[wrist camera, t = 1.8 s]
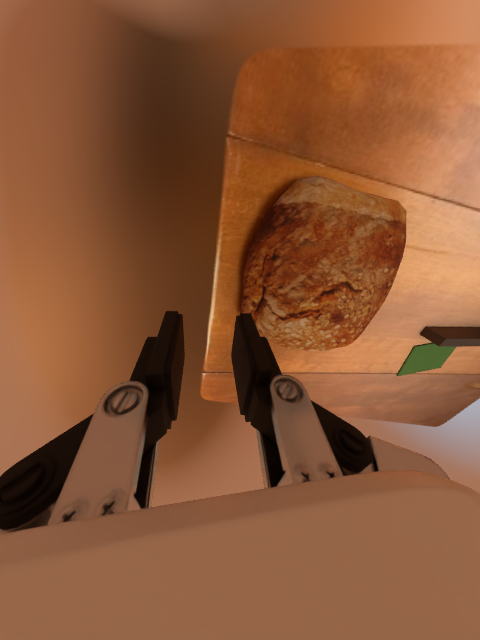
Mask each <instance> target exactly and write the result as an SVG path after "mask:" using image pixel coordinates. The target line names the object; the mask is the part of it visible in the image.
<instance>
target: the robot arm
mask: <svg viewBox="0 0 480 640" xmlns="http://www.w3.org/2000/svg"><path fill="white" fill-rule="evenodd" d="M184 356H185V354H184V335H183V316H182V314H178V312H177V311H166V313H165V316H164V319H163V322H162V325H161V328H160V331H159V334H158V337H148V338H147V339H146V341H145V344H144V346H143V349H142V351H141V354H140V356H139V358H138V361H137V363H136V366H135V368H134V371H133V373H132V375H131V378H130V381H127V382H122V383H120V384H118V385H115V386H114V387H112V388H111V389H109V390H108V391H107V392H106V393H105V394H104V395H103V396H102V398H101V399H100V401H99V403H98V405H97V408H96V410H95V412H94V414H92V415H91V416H89V417H88V418H86V419H85V420H83V421H81V422H80V423H78V424H77V425H75V426H73V427H72V428H70V429H69V430H67V431H66V432H64V433H63V434H61V435H59V436H58V437H56V438H55V439H53V440H52V441H50V442H49V443H47V444H45V445H44V446H42V447H41V448H39V449H38V450H36V451H35V452H33V453H31V454H30V455H28V456H27V457H25V458H24V459H22V460H21V461H19V462H17V463H16V464H15V465H14V466H12V467H11V468H9V469H8V470H7V471H6V472H4V473H3V474H2V475H1V477H0V640H480V493H478V492H477V491H475V490H472V489H471V488H469V487H467V486H464V485H462V484H460V483H457V482H455V481H452V480H450V479H449V477H448V476H447V474H446V473H445V472H444V471H443V470H442V469H441V467H439V465H438V464H436V463H435V462H434V461H432V460H431V459H429V458H427V457H426V456H423V455H422V454H419V453H416V452H413V451H411V450H408V449H405V448H402V447H399V446H396V445H394V444H391V443H388V442H385V441H383V440H380V439H377V438H374V437H371V436H368V437H367V438H366V437H365V436H364V435H363V434H362V433H361V432H360V431H359V430H358V429H356V428H355V427H354V426H352V425H351V424H349V423H347V422H346V421H344V420H342V419H341V418H339V417H337V416H336V415H334V414H333V413H331V412H329V411H328V410H326V409H324V408H323V407H321V406H319V405H318V404H316V403H315V402H313V401H311V400H310V398H309V396H308V393H307V391H306V389H305V387H304V386H303V384H302V383H301V382H300V381H299V380H297V379H296V378H294V377H292V376H289V375H282V373H281V371H280V369H279V366H278V364H277V362H276V359H275V357H274V355H273V352H272V350H271V347H270V345H269V343H268V340H267V338H266V337H260V335H259V332H258V330H257V327H256V325H255V322H254V319H253V317H252V314H251V313H240V316H236V322H235V330H234V338H233V345H232V354H231V357H232V364H233V371H234V377H235V383H236V389H237V396H238V402H239V407H240V414H241V415H245V420H246V422H251V425H252V426H253V427H254V428H255V429H256V432H257V439H258V447H259V454H260V461H261V467H262V474H263V482H264V489H260V490H254V491H248V492H242V493H236V494H230V495H223V496H218V497H212V498H206V499H200V500H193V501H187V502H181V503H175V504H169V505H163V506H157V507H152V499H153V490H154V480H155V472H156V463H157V455H158V445H159V439H161V438H162V437H163V436H164V435H165V434H166V432H167V429H171V422H172V421H174V420H176V419H177V413H178V405H179V397H180V390H181V382H182V374H183V366H184Z"/></svg>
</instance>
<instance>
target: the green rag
mask: <svg viewBox="0 0 480 640" xmlns="http://www.w3.org/2000/svg"><path fill="white" fill-rule="evenodd" d="M456 347H457V346H450V347H439V346H437V345H436V344H434V343H429V344H423V345H418V346H414V347H413V349H412V350H411V352H410V354H409V355H408V357H407V359H406V360H405V362H404V364H403V365H402V367H401V369H400V370H399V372H398V374H397V376H401V375H406V374H411V373H416V372H421V371H426V370H431V369H436V368H440V367H441V366H442V365H443V364H444V362H445V361H446V360H447V358H448V357H449V356H450V354H451V353H452V352H453V351H454V349H455V348H456Z"/></svg>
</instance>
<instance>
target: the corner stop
mask: <svg viewBox="0 0 480 640" xmlns="http://www.w3.org/2000/svg"><path fill="white" fill-rule="evenodd" d="M420 335H422V336H423V337H425V338H426V339H428V340H430V341H431V342H433V343H434V344H436V345H437V346H439V347H450V346H480V328H477V327H425V329H424V330H423V331H422V332H421V334H420Z"/></svg>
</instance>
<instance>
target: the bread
mask: <svg viewBox="0 0 480 640" xmlns="http://www.w3.org/2000/svg"><path fill="white" fill-rule="evenodd" d="M405 243H406V210H405V209H404V207H403V206H402V205H401V204H400V203H399V202H398V201H396V200H392V199H388V198H384V197H380V196H376V195H373V194H369V193H363V192H358V191H356V190H353V189H351V188H349V187H347V186H345V185H343V184H340V183H338V182H336V181H334V180H331V179H328V178H324V177H320V176H314V177H309V178H304V179H299V180H295V181H294V182H293V184H292V185H291V186H290V187H289V188H288V189H287V190H286V191H285V192H284V193H283V194H282V195H281V197H280V198H279V199H278V200H277V201H276V203H275V204H274V205H273V206H272V207H271V209H270V210H269V211H268V212H267V214H266V215H265V217H264V219H263V220H262V222H261V224H260V226H259V228H258V230H257V231H256V233H255V235H254V238H253V240H252V243H251V245H250V248H249V250H248V253H247V257H246V262H245V267H244V274H243V292H242V302H241V311H240V313H251V314H252V317H253V319H254V322H255V325H256V327H257V330H258V331H259V332H260V333H261V334H262V336H264V337H266V338H267V339H268V340H270V341H272V342H274V343H276V344H278V345H281V346H283V347H286V348H290V349H295V350H304V351H323V350H330V349H334V348H338V347H345V346H347V345H349V344H351V343H352V342H354V341H355V340H356V339H357V338H358V337H359V336H360V334H361V333H362V332H363V331H364V330H365V328H366V327H367V325H368V324H369V323H370V321H371V320H372V318H373V317H374V316H375V314H376V313H377V311H378V310H379V308H380V307H381V305H382V304H383V302H384V301H385V299H386V297H387V295H388V293H389V291H390V289H391V287H392V284H393V282H394V279H395V276H396V274H397V271H398V268H399V265H400V263H401V260H402V257H403V252H404V248H405Z"/></svg>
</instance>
